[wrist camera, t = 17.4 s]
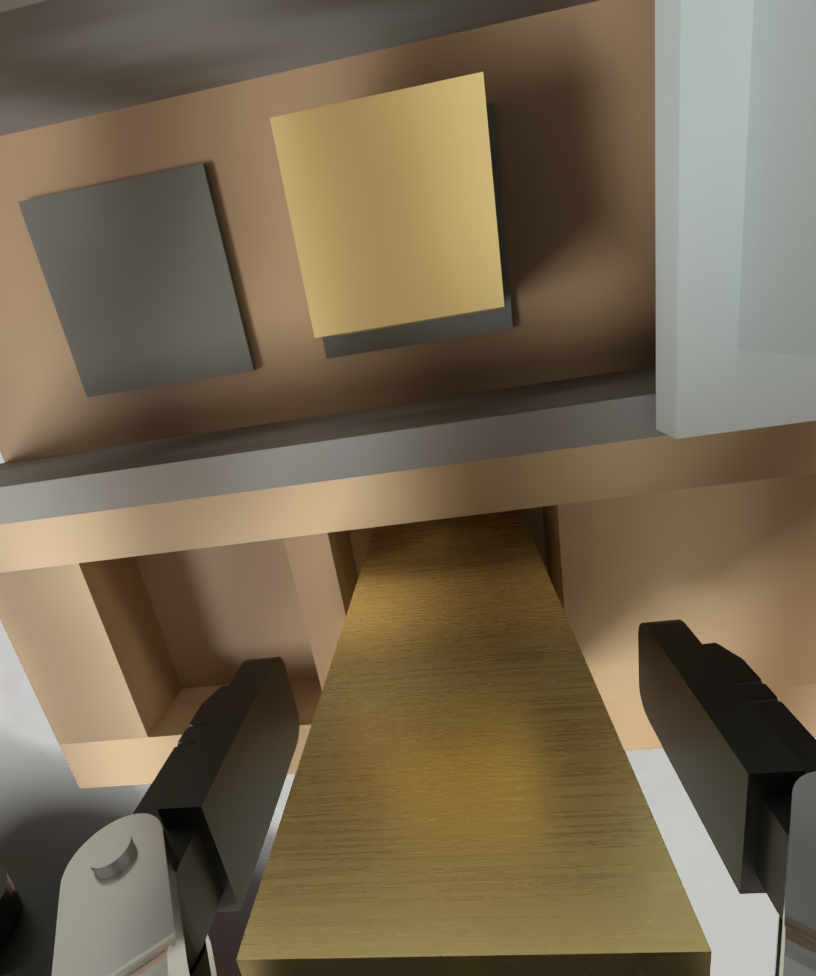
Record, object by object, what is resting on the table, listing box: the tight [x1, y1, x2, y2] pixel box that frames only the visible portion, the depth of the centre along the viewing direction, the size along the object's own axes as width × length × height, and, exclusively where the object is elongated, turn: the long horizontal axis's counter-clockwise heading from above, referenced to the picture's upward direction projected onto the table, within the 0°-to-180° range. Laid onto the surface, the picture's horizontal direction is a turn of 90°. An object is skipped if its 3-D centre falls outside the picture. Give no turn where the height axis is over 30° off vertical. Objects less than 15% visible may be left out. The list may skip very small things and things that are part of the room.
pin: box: [236, 509, 711, 976], centre depth 10 cm, size 4×4×10 cm
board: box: [0, 0, 816, 788], centre depth 12 cm, size 27×18×6 cm, turn 99°
